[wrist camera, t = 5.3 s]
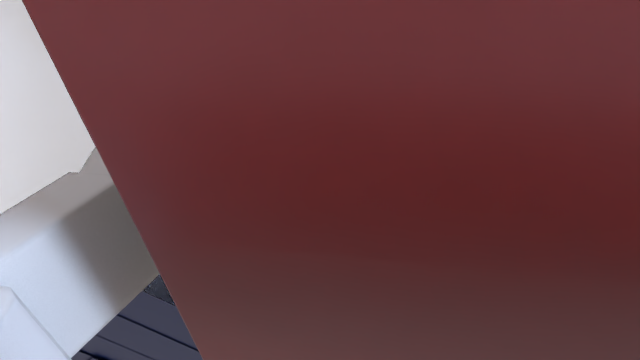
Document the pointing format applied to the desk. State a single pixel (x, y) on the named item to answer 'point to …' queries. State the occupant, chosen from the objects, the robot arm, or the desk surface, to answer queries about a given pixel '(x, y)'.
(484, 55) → the pocket dictionary
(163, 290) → the desk surface
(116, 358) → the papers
